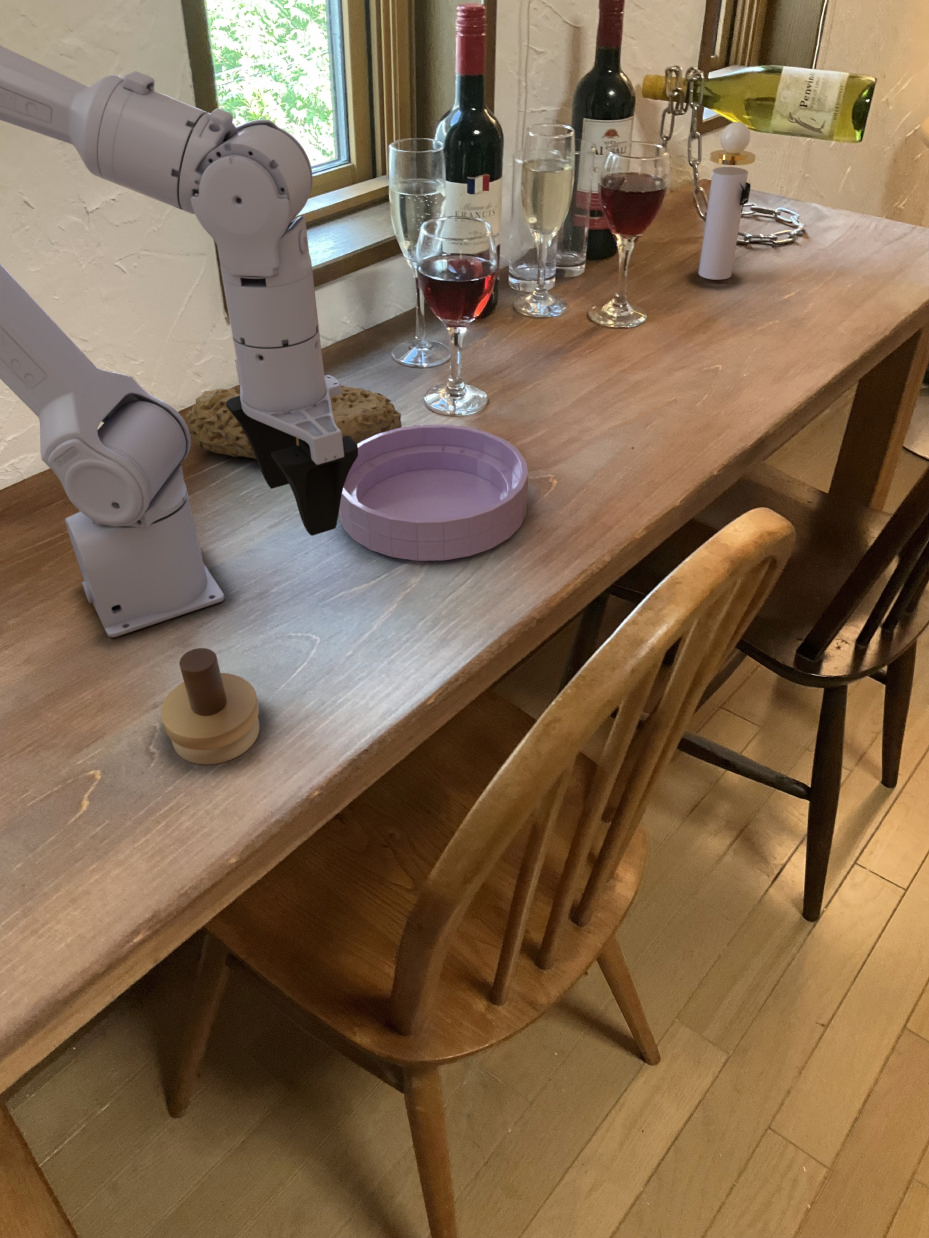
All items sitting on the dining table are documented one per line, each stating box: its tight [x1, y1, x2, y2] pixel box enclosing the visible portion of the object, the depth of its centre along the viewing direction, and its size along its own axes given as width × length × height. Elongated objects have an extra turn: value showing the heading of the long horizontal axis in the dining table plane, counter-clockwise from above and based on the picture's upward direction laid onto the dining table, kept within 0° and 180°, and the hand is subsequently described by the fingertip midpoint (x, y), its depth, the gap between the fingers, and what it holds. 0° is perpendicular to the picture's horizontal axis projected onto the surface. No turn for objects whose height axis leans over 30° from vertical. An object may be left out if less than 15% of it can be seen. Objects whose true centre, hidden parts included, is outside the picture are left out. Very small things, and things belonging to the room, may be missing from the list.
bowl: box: [338, 424, 529, 562], centre depth 87 cm, size 17×17×4 cm
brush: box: [160, 647, 261, 765], centre depth 65 cm, size 6×6×7 cm
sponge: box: [185, 385, 403, 460], centre depth 96 cm, size 13×8×20 cm
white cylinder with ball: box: [697, 121, 757, 281], centre depth 128 cm, size 6×6×20 cm
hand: (301, 506), depth 72 cm, fingers open, 7 cm apart
